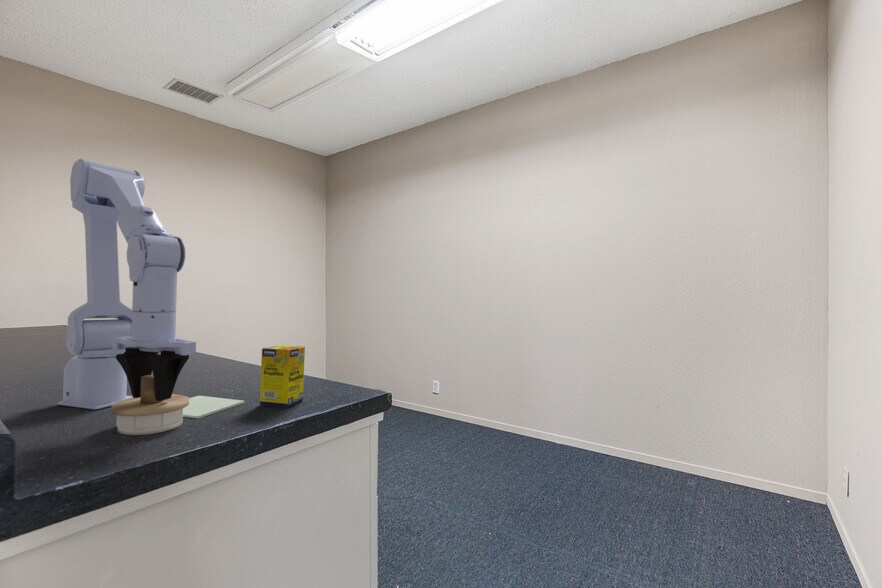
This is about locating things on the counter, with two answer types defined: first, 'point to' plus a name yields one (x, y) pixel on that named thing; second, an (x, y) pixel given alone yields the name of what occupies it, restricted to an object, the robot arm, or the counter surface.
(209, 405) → the mat
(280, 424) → the counter surface
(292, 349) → the supplement box
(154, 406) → the lid
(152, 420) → the bowl
